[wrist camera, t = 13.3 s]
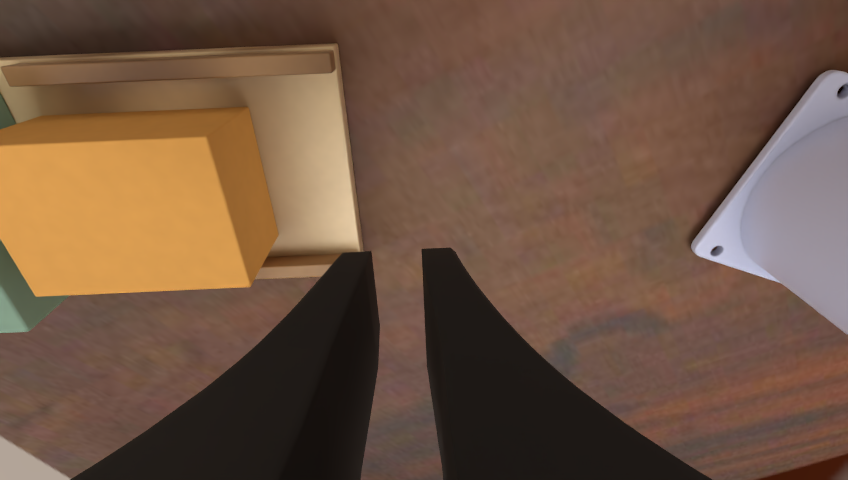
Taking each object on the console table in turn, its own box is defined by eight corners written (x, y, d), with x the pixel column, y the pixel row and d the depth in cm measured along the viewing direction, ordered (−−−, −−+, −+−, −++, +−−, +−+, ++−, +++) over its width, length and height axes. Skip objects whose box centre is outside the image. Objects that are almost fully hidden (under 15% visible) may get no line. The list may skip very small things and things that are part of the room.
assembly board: (338, 43, 15) (329, 48, 13) (364, 253, 19) (360, 277, 17) (-169, 64, 14) (-238, 72, 13) (-28, 271, 19) (-68, 296, 17)
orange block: (248, 106, 14) (206, 136, 11) (279, 235, 17) (250, 287, 14) (40, 115, 14) (-57, 147, 11) (102, 243, 17) (35, 297, 14)
